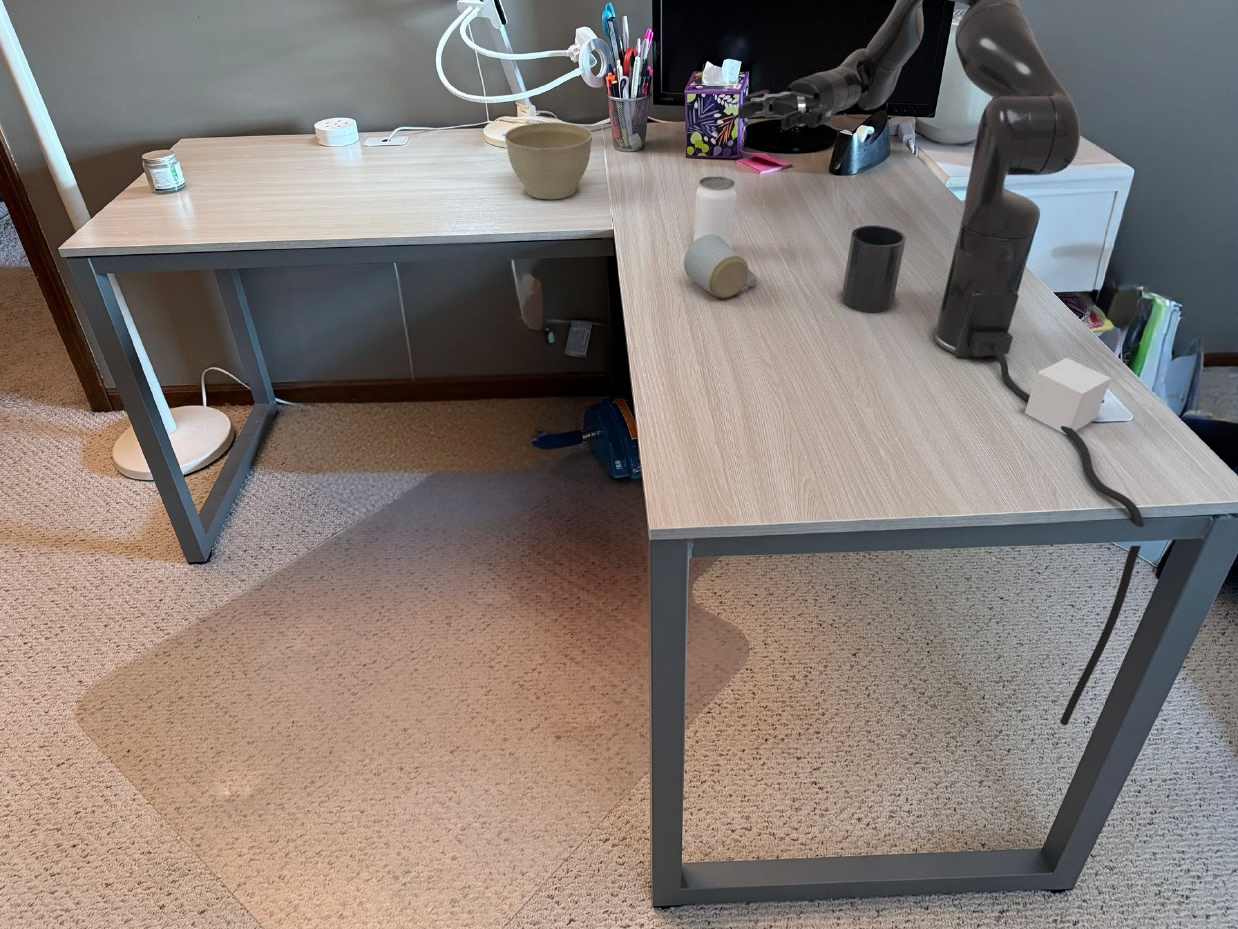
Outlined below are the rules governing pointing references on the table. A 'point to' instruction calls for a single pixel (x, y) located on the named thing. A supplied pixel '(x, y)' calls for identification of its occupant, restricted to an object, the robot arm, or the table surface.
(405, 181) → the table surface
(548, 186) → the planter bowl
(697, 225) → the can
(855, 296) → the pen cup
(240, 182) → the table surface
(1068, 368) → the white cube
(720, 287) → the ceramic mug
